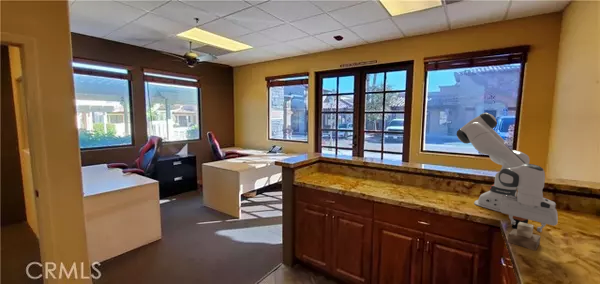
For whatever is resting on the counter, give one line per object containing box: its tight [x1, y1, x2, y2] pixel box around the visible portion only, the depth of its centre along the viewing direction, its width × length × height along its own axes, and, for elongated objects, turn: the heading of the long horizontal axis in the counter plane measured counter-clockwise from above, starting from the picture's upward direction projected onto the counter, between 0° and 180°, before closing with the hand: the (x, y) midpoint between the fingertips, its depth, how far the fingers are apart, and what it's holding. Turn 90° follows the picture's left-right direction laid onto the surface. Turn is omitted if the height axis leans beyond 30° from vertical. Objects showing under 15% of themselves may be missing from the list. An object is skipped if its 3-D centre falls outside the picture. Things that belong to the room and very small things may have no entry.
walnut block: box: [507, 228, 541, 252], centre depth 123 cm, size 10×10×4 cm
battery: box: [511, 216, 529, 230], centre depth 139 cm, size 4×7×10 cm, turn 116°
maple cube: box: [517, 222, 534, 238], centre depth 123 cm, size 5×5×5 cm
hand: (525, 227), depth 123 cm, fingers open, 8 cm apart
